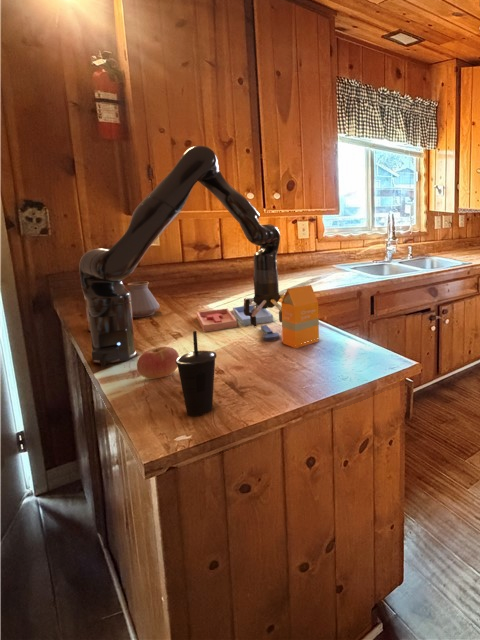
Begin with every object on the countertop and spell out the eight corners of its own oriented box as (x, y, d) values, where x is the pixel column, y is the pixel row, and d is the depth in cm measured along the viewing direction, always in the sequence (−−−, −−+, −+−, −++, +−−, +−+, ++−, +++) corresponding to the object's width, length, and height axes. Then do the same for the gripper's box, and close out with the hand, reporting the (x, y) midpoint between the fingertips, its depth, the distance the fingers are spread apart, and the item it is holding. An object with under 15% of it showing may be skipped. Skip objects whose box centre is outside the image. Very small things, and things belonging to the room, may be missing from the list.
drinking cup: (226, 403, 101) (222, 326, 98) (204, 420, 94) (199, 337, 91) (195, 402, 101) (190, 325, 98) (170, 419, 93) (164, 336, 90)
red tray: (237, 326, 154) (236, 320, 154) (203, 331, 147) (203, 325, 147) (227, 314, 168) (227, 308, 168) (196, 318, 161) (196, 312, 161)
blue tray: (272, 321, 162) (272, 315, 162) (242, 325, 155) (242, 319, 155) (261, 309, 176) (260, 304, 176) (233, 313, 169) (232, 307, 169)
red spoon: (227, 324, 155) (226, 319, 154) (210, 326, 151) (210, 322, 151) (220, 315, 164) (220, 311, 164) (205, 317, 161) (205, 313, 161)
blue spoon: (256, 331, 151) (255, 326, 151) (271, 328, 154) (271, 324, 154) (265, 341, 141) (265, 336, 141) (281, 338, 145) (281, 334, 144)
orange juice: (319, 341, 145) (318, 286, 142) (295, 348, 137) (293, 290, 134) (306, 336, 148) (304, 283, 146) (282, 343, 141) (280, 287, 138)
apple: (182, 376, 114) (181, 349, 112) (140, 386, 107) (137, 357, 106) (176, 366, 119) (174, 340, 118) (135, 375, 113) (133, 348, 112)
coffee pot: (159, 308, 170) (156, 273, 167) (161, 315, 161) (158, 279, 159) (85, 317, 155) (81, 279, 153) (83, 325, 147) (79, 285, 145)
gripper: (245, 285, 138) (247, 330, 140) (291, 280, 148) (292, 322, 150) (240, 280, 143) (242, 324, 146) (285, 276, 153) (286, 317, 155)
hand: (268, 323), depth 148 cm, fingers open, 8 cm apart
